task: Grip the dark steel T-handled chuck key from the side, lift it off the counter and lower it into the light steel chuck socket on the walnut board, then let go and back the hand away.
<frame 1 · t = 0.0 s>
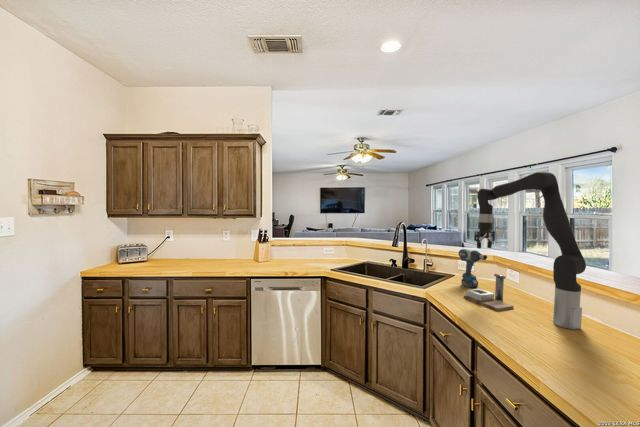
hand: (484, 248, 179), 29 cm above the worktop, tool pointing down, fingers open, 8 cm apart
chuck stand: (487, 303, 167), on the worktop
chuck key: (498, 299, 174), on the worktop
impact wrench: (471, 286, 199), on the worktop
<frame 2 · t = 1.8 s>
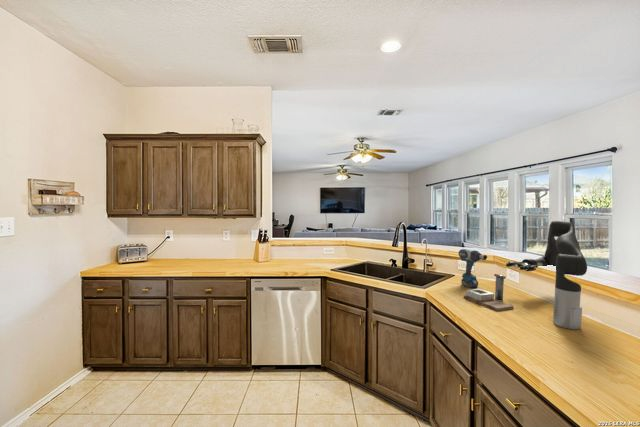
hand: (513, 266, 177), 19 cm above the worktop, tool horizontal, fingers open, 8 cm apart
nothing on the worktop moved.
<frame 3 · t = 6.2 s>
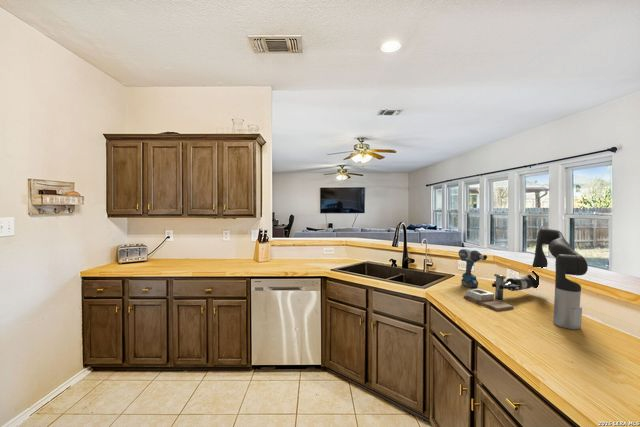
hand: (496, 286, 173), 8 cm above the worktop, tool horizontal, fingers closed on chuck key, 4 cm apart
chuck key: (498, 299, 174), on the worktop, touching gripper
everything else where it was.
when the fingers open (10 cm above the worktop, at t = 11.3 s): chuck key stays where it is, resting on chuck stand.
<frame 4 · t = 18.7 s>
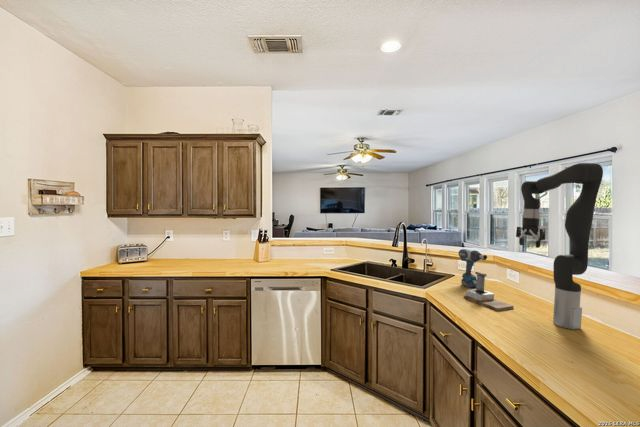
hand: (529, 246, 163), 33 cm above the worktop, tool pointing down, fingers open, 8 cm apart
chuck key: (479, 297, 171), point 2 cm above the worktop, touching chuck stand
everything else where it was.
at the end: chuck key 0.1 cm from the target spot on the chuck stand, point 1.5 cm above the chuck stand's base; chuck key tilted 1°; the gripper is holding nothing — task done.
